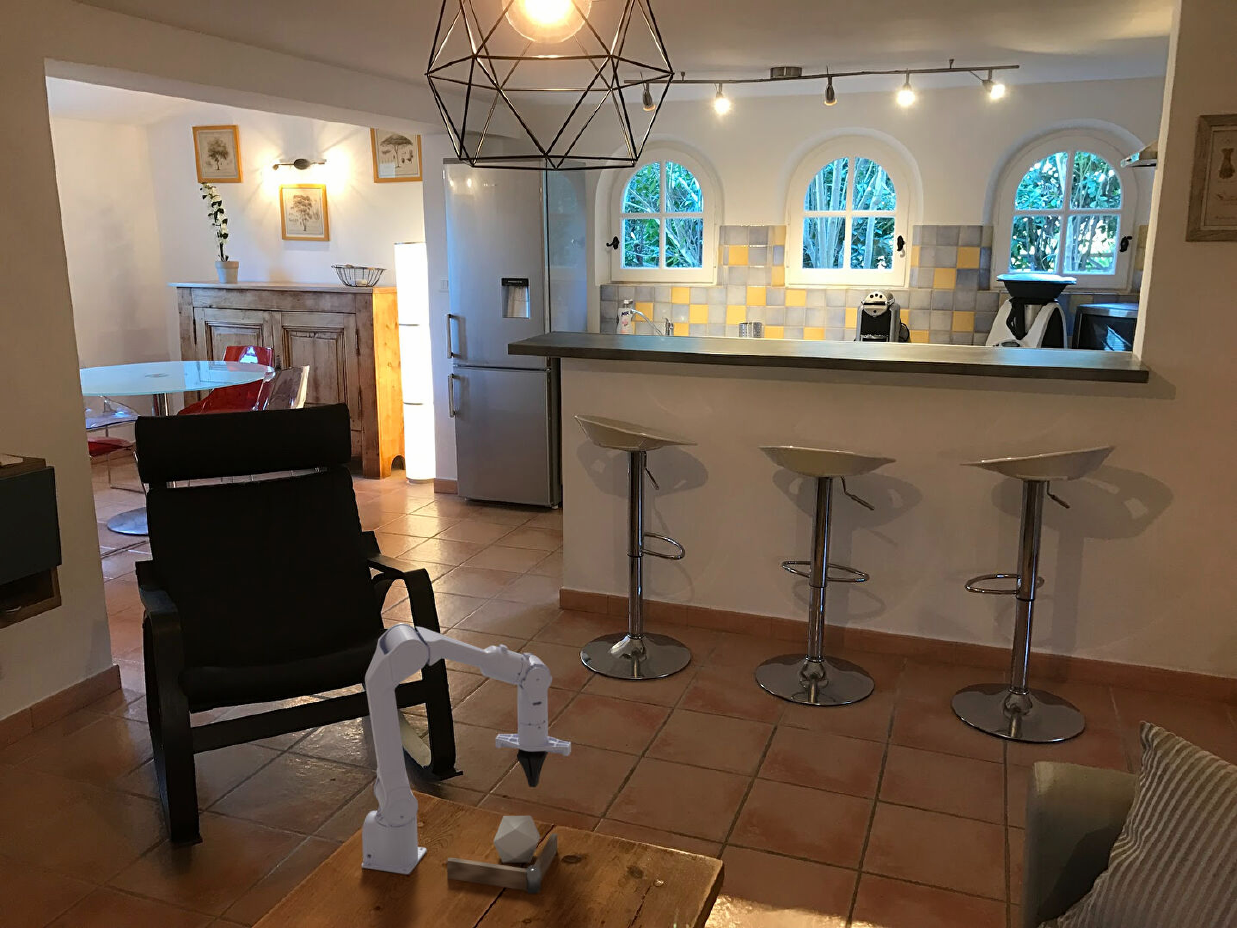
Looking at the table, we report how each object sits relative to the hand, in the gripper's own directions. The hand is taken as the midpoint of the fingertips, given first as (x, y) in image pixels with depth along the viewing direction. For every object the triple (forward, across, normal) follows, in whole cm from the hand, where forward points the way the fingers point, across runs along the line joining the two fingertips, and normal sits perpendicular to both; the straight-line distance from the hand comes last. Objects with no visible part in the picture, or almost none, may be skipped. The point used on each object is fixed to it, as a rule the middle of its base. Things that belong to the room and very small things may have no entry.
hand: (533, 784), depth 193 cm
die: (+10, 0, +10) cm, 14 cm away
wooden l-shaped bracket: (+9, +1, +13) cm, 16 cm away
